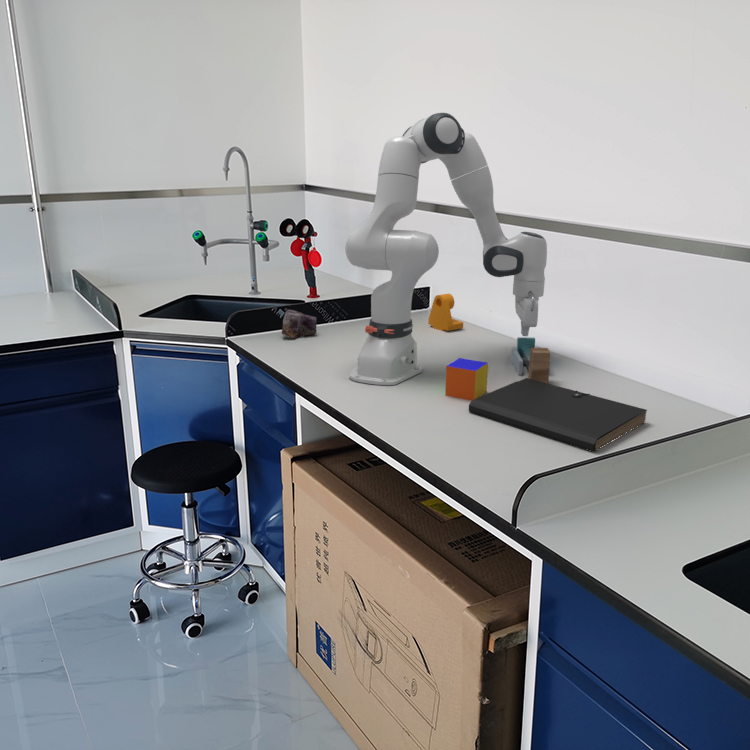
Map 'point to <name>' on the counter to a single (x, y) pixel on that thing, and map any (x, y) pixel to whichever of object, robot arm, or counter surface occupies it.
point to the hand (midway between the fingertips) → (524, 335)
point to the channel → (518, 361)
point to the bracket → (443, 314)
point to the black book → (559, 413)
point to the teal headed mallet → (525, 348)
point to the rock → (298, 324)
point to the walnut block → (539, 364)
